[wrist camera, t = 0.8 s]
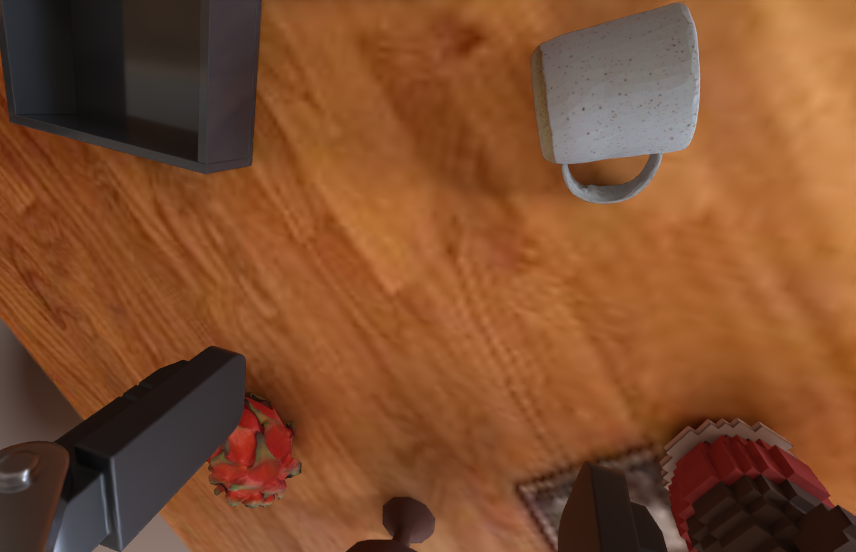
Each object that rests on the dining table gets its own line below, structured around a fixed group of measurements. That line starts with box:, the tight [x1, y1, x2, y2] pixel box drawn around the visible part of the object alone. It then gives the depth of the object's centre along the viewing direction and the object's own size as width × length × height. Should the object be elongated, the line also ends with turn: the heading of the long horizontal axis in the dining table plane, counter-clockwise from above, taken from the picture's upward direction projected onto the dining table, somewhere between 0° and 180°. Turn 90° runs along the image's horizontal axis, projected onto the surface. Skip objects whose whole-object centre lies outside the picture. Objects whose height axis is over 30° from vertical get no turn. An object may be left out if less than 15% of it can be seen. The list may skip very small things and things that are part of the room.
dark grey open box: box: [0, 0, 261, 174], centre depth 33 cm, size 13×16×6 cm
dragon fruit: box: [207, 393, 301, 508], centre depth 43 cm, size 8×8×12 cm
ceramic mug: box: [531, 3, 700, 204], centre depth 27 cm, size 11×8×8 cm
